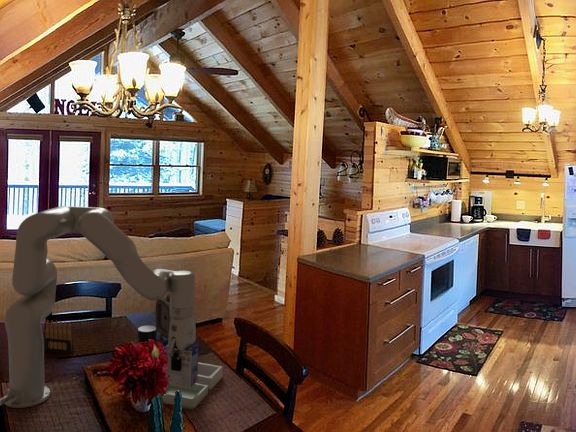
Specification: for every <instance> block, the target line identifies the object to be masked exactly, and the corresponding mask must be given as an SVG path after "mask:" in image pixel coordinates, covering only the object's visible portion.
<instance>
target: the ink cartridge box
mask: <svg viewBox="0 0 576 432" xmlns="http://www.w3.org/2000/svg"><path fill="white" fill-rule="evenodd" d="M164 347H165V348H166V349H167V355H168V371H167V375H168V379H169V384H170V385H176V386H183V387H189V388H191V387H192V386H193V385H194V384H195V383H196V382H197V381H198V375H199V374H198V362H199V344H194V343H192V344H191V345H190V346H189V347H187V348H186V349H185V350H183V351H181V356H180V358H181V371H174V370H171V358H170V355H169V354H168V349H169V345H168V343H167V344H166V345H165V346H164ZM175 348H177V346H175ZM175 353H177V354H178V351H176V350H175Z"/></svg>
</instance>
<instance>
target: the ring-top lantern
mask: <svg viewBox="0 0 576 432" xmlns="http://www.w3.org/2000/svg"><path fill="white" fill-rule="evenodd" d="M170 318H171V317H170V292H168V294H167V295H166V297H162V298H161V299H159V300H155V327H156V328H157V333H159V335H158V338H159V339H163V338H166V339H168V336H169V325H170Z"/></svg>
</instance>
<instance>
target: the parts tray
mask: <svg viewBox="0 0 576 432" xmlns="http://www.w3.org/2000/svg"><path fill="white" fill-rule="evenodd" d="M177 390H180V391H181V394H182V407H183V409H188V410H192V411H193V410H195V409H196V408H197V407H198V406H199V404H200V403H202V401H204V399H205V398H206V397H207V396H208V395H209V389H208V385H203V384H198V383H195V384H194V385H193V386H192V387H191V388H189V387H183V386H176V385H170V384H169V386H168V388H167V390H166V394H164V395H163V396H162V398H163V401H164V402H165V403H172V404H173V403H174V397H175V392H176V391H177Z"/></svg>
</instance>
